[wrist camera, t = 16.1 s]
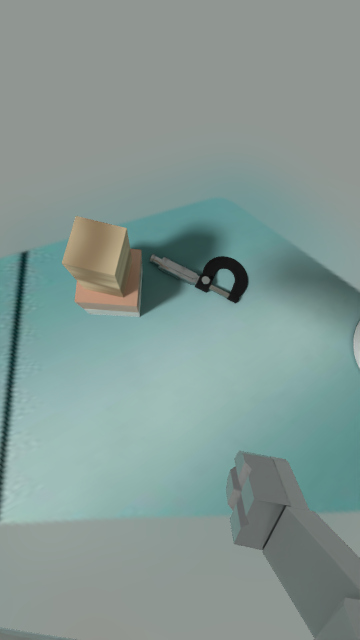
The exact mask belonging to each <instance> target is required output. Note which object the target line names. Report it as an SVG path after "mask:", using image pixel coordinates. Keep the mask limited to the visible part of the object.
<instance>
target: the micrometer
mask: <svg viewBox="0 0 360 640" xmlns="http://www.w3.org/2000/svg"><path fill="white" fill-rule="evenodd" d="M149 262H151V263H154V264H156V265H158V266H159V270H161V271H163V272H166V273H168V274H170V275H172V276H174V277H176V278H177V279H179V280H182V281H184V282H186V283H188V284H190V285H195V287H196V288H198V289H200V290H202V291H204V292H207V291H208V290H211V291H214V292H216V293H218V294H220V295H222V296H224V297H226V298H227V299H228V300H230V301H232V302H234V303H237V302H238V300H239V297H240V296H241V295H242V294H243V292H244V291H245V289H246V287H247V283H248V279H247V274H246V271H245V269H244V268H243V266H242V265H241V264H240V263H239V262H237V261H236V260H234V259H232V258H229V257H223V256H222V257H216V258H213V259H212V260H210V261H209V262H208V263H207V264H206V266H205V267H204V270H203V274H202V275H198V273H197V272H195V271H192V270H190V269H188V268H187V267H185V266H183V265H180V264H178V263H176V262H174V261H172V260H170V259H169V258H167V257H165V256H164V258H163V259H162V258H160V257H158V256H156V255H155V254H152V256H151V258H150V260H149ZM219 269H228V270H230V271H231V272H232V273H233V274H234V277H235V283H234V285H233V288H232V290H231V293H228V292H226V291H224V290H222V289H220V288H218V287H216V286H214V285H212V281H213V278H214V276H215V274H216V272H217V271H218V270H219Z"/></svg>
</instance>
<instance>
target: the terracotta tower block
mask: <svg viewBox="0 0 360 640" xmlns="http://www.w3.org/2000/svg"><path fill="white" fill-rule="evenodd" d="M130 251H131V257H132V265H131V269H130V273H129V277H128V281H127V285H126V289H125V294H124V298H122V297H118V296H113V295H109V294H104V293H100V292H95V291H91V290H86V289H84V288H83V287H82V286H81V284H80V283H79V282H78V281H77V287H76V295H75V302H76V303H77V304H78V305H79V306H81V307H82V308H83V309H95V310H109V311H123V312H137V313H138V310H139V297H140V284H141V271H142V252H141V250H139V249H130Z"/></svg>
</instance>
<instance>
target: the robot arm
mask: <svg viewBox="0 0 360 640" xmlns="http://www.w3.org/2000/svg"><path fill="white" fill-rule="evenodd" d="M353 346H354V354H355V358H356V361H357V364H358V366H359V368H360V321H359V323H358V325H357V327H356V330H355V334H354V342H353ZM234 460H235V465H236V467H234V468H232V469H231V470H230V472H229V475H228V479H227V486H226V494H227V502H228V505H229V506H230V507H231V509H232V510H233V512H232V515H231V517H230V523H231V529H232V536H233V541H234V544H237V545H241V546H246V547H250V548H255V549H259V550H263V554H264V555H265V557H266V559H267V560H268V562H269V564H270V565H271V567H272V569H273V570H274V572H275V574H276V575H277V577H278V579H279V580H280V582H281V584H282V585H283V587H284V589H285V590H286V592H287V593H288V595H289V597H290V598H291V600H292V602H293V603H294V605H295V607H296V608H297V610H298V612H299V613H300V615H301V617H302V618H303V620H304V622H305V623H306V625H307V626H308V628H309V630H310V632H311V633H312V635H313V637H314V638H315V639H314V640H360V558H359V557H358V556H357V555H356V554H355V553H354V552H353V551H352V549H351V548H350V547H348V545H346V543H345V542H344V541H343V540H342V539H341V538H340V537H339V536H338V535H337V534H336V533H335V532H334V531H333V530H332V529H331V528H330V527H329V526H328V525H327V524H326V523H325V522H324V521H323V520H322V519H321V518H320V517H319V516H318V515H317V514H316V513H315V512H314V511H310V510H309V508H308V506H307V503H306V501H305V499H304V497H303V494H302V492H301V490H300V488H299V485H298V483H297V481H296V478H295V476H294V474H293V472H292V469H291V467H290V465H289V463H288V461H287V460H286V459H282V458H276V457H271V456H270V457H269V456H265V455H260V454H254V453H249V452H244V451H239V452H238V453H237V454H236V457H235V459H234ZM0 640H76V639H70V638H64V637H57V636H51V635H44V634H39V633H32V632H25V631H20V630H14V629H8V628H1V627H0Z"/></svg>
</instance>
